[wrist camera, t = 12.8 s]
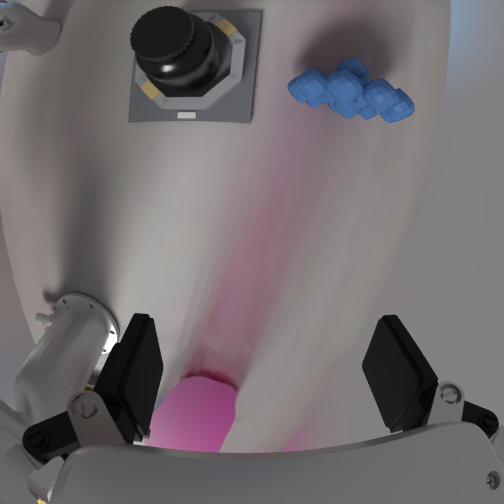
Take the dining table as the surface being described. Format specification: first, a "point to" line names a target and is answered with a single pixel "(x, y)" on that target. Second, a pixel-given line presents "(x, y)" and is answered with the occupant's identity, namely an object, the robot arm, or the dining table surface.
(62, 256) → the dining table surface
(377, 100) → the blue petal flower
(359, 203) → the dining table surface
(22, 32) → the beer glass
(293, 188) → the dining table surface
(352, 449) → the robot arm
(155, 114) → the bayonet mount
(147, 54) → the supplement bottle
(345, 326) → the dining table surface
